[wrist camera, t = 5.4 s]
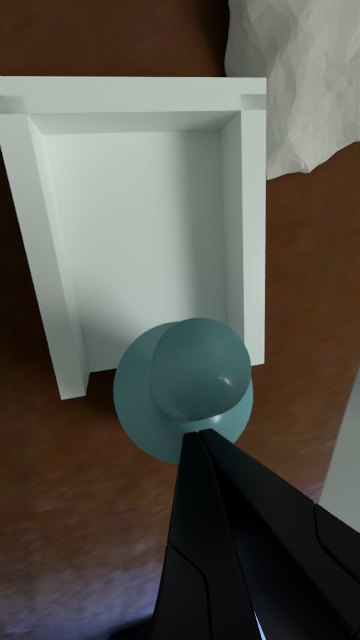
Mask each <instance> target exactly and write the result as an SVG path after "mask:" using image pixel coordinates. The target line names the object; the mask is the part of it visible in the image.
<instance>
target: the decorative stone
mask: <svg viewBox="0 0 360 640" xmlns="http://www.w3.org/2000/svg"><path fill="white" fill-rule="evenodd" d="M228 4H229V9H230V24H229V36H228V42H227V48H226V54H225V60H224V64H225V73H226V75H227V77H230V78H266V180H269V179H272V178H276V177H279V176H281V175H284V174H288V173H294V172H303V173H309V172H311V171H312V170H313V169H314V168H315V167H316V166H317V165H319V164H322V163H323V162H325V161H326V160H328V159H329V158H330V157H331V156H332V155H333V154H334V153H335V152H336V151H338V150H340V149H342V148H344V147H345V146H347V145H349V144H351V143H353V142H358V141H360V0H229V2H228Z"/></svg>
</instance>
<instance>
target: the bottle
mask: <svg viewBox="0 0 360 640" xmlns="http://www.w3.org/2000/svg"><path fill="white" fill-rule="evenodd" d="M113 394H114V404H115V409H116V412H117V415H118V419H119V421H120V423H121V425H122V427H123V429H124V430H125V432H126V433H127V435H128V436H129V437H130V438H131V440H132V441H133V442H134V443H135V444H136V445H137V446H138V447H139V448H141V449H142V450H143V451H145V452H146V453H148V454H149V455H151V456H153V457H155V458H157V459H159V460H162V461H165V462H169V463H174V464H179V458H180V452H181V445H182V438H183V434H184V433H188V432H193V431H196V432H198V431H199V430H202V429H207V428H212V429H214V430H215V431H217V432H218V433H220V434H221V435H222V436H224V437H225V438H227V439H228V440H229V441H231V442H232V443H234V442H235V441H236V440H237V439H238V438H239V436H240V435H241V433H242V432H243V430H244V429H245V426H246V424H247V422H248V420H249V416H250V413H251V409H252V403H253V387H252V380H251V361H250V356H249V354H248V351H247V349H246V347H245V345H244V343H243V341H242V340H241V339H240V337H239V336H238V335H237V334H236V333H235V332H234V331H233V330H232V329H230V328H229V327H228V326H226V325H224V324H223V323H220V322H218V321H215V320H212V319H208V318H190V319H186V320H183V321H177V322H169V323H164V324H161V325H158V326H155V327H153V328H151V329H149V330H148V331H146V332H144V333H143V334H141V335H140V336H139V337H138V338H137V339H135V340H134V341H133V343H132V344H131V345H130V346H129V347H128V348H127V350H126V351H125V353H124V354H123V356H122V358H121V360H120V362H119V365H118V367H117V370H116V374H115V379H114V387H113Z"/></svg>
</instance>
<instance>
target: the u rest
mask: <svg viewBox="0 0 360 640" xmlns="http://www.w3.org/2000/svg"><path fill="white" fill-rule="evenodd" d="M0 146H1V150H2V154H3V158H4V163H5V167H6V171H7V175H8V179H9V183H10V188H11V192H12V196H13V200H14V204H15V208H16V213H17V217H18V221H19V225H20V229H21V233H22V238H23V242H24V246H25V250H26V254H27V258H28V263H29V267H30V271H31V275H32V279H33V283H34V288H35V292H36V296H37V300H38V304H39V308H40V313H41V317H42V321H43V325H44V329H45V333H46V338H47V342H48V346H49V350H50V354H51V358H52V363H53V367H54V371H55V375H56V379H57V383H58V388H59V392H60V396H61V400H63V399H69V398H74V397H80V396H85V395H86V390H87V385H88V379H89V374H90V372H96V371H102V370H108V369H114V368H117V367H118V365H119V362H120V360H121V358H122V356H123V354H124V353H125V351H126V350H127V348H128V347H129V346H130V345H131V344H132V343H133V341H134V340H135V339H137V338H138V337H139V336H140V335H141V334H143V333H144V332H146V331H148V330H149V329H151V328H153V327H155V326H158V325H161V324H164V323H169V322H177V321H183V320H186V319H190V318H208V319H212V320H215V321H218V322H220V323H223V324H224V325H226V326H228V327H229V328H230V329H232V330H233V331H234V332H235V333H236V334H237V335H238V336H239V337H240V339H241V340H242V341H243V343H244V345H245V347H246V349H247V351H248V354H249V356H250V361H251V366H252V365H258V364H263V363H264V319H265V195H266V78H230V77H35V76H0Z"/></svg>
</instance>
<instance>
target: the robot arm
mask: <svg viewBox="0 0 360 640" xmlns="http://www.w3.org/2000/svg"><path fill="white" fill-rule="evenodd" d="M254 611H255V613H254ZM255 614H256V616H257V618H258V621H259V623H260V626H261V628H262V631H263V633H264V636H265V638H266V640H360V533H359V532H357V531H356V530H354V529H353V528H351V527H350V526H348V525H347V524H346V523H344V522H343V521H341V520H339V519H338V518H337V517H335V516H334V515H332V514H331V513H330V512H328V511H327V510H325V509H324V508H323V507H321V506H320V505H319V504H317V503H315V504H314V501H313V500H311V499H310V498H309V497H307V496H306V495H304V494H303V493H302V492H300V491H299V490H297V489H296V488H295V487H293V486H292V485H291V484H289V483H288V482H286V481H285V480H284V479H282V478H281V477H279V476H278V475H277V474H275V473H274V472H272V471H271V470H270V469H268V468H267V467H265V466H264V465H263V464H261V463H260V462H259V461H257V460H256V459H254V458H253V457H252V456H250V455H249V454H247V453H246V452H245V451H243V450H242V449H240V448H239V447H238V446H236V445H235V444H234V443H232V442H231V441H229V440H228V439H227V438H225V437H224V436H222V435H221V434H220V433H218V432H217V431H215V430H214V429H212V428H207V429H202V430H199V431H198V432H196V431H193V432H188V433H184V434H183V438H182V445H181V452H180V458H179V465H178V472H177V479H176V485H175V492H174V499H173V505H172V512H171V519H170V525H169V532H168V539H167V546H166V551H165V557H164V564H163V569H162V575H161V580H160V586H159V591H158V596H157V600H156V604H155V608H154V612H153V617H152V621H151V623H149V624H146V625H143V626H140V627H137V628H133V629H130V630H127V631H124V632H121V633H118V634H115V635H112V636H111V637H110V638H109V639H108V640H262V638H261V634H260V631H259V627H258V623H257V620H256V616H255Z"/></svg>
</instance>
